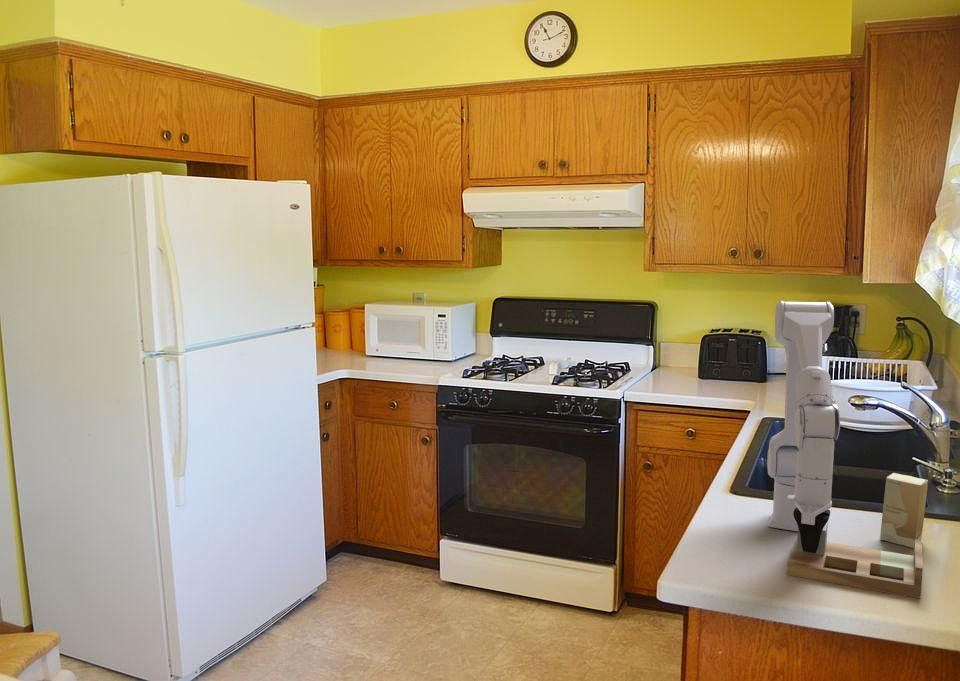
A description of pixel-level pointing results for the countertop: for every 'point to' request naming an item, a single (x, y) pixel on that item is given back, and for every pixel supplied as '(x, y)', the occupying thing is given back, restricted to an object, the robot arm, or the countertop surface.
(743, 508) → the countertop surface
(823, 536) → the block
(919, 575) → the board
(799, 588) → the countertop surface
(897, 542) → the skincare box
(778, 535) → the countertop surface
